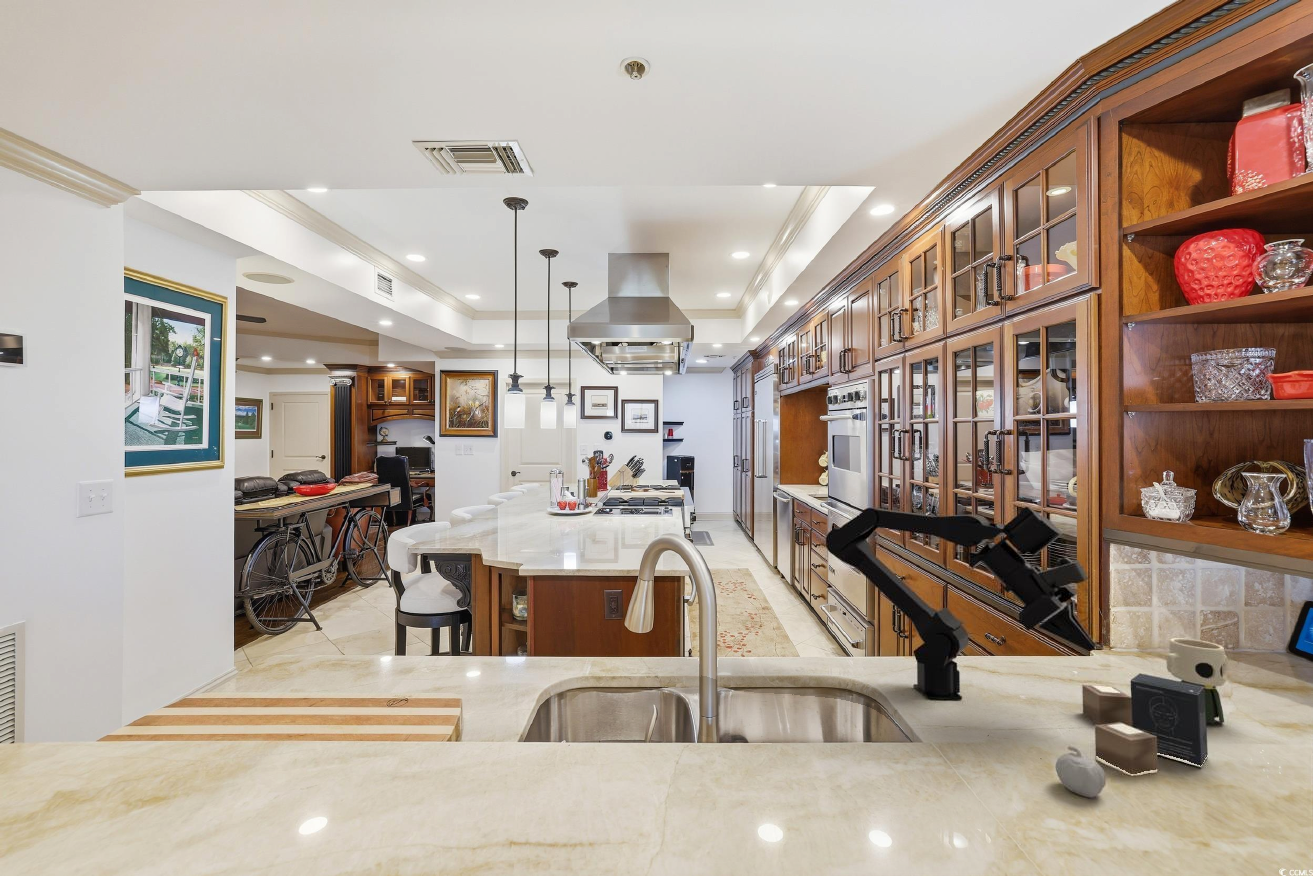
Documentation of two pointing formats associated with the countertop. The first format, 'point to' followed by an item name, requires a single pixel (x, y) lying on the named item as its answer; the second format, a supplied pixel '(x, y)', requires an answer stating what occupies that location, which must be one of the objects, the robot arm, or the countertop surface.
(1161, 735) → the box
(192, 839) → the countertop surface
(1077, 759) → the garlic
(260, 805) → the countertop surface
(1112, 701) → the walnut cube far
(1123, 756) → the walnut cube near
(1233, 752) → the countertop surface
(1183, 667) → the character mug
